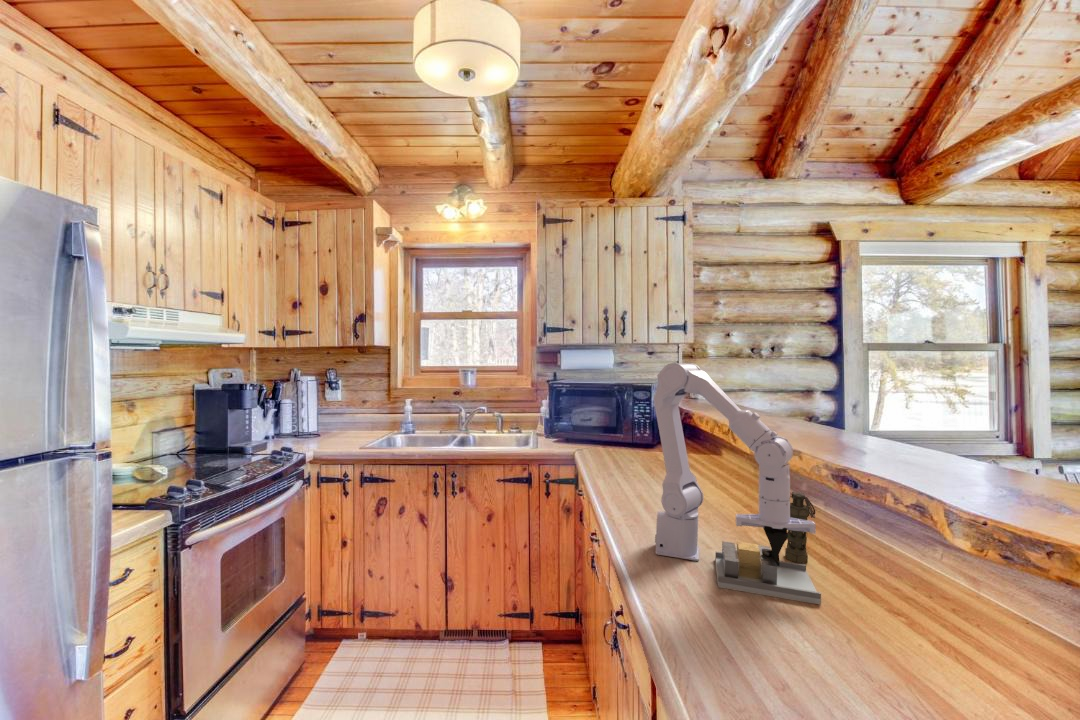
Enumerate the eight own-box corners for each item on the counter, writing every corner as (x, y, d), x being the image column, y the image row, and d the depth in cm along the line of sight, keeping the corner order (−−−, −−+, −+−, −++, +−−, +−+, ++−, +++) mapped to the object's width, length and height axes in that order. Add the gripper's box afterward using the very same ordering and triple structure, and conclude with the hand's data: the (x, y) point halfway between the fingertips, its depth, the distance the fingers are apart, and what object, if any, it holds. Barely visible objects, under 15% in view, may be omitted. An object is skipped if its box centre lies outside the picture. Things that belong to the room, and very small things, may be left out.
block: (737, 575, 96) (738, 548, 96) (736, 567, 100) (737, 541, 100) (759, 579, 95) (760, 552, 95) (756, 570, 99) (757, 544, 99)
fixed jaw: (724, 579, 94) (725, 560, 94) (721, 559, 104) (722, 541, 104) (739, 582, 93) (739, 562, 93) (735, 561, 103) (735, 543, 103)
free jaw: (761, 584, 92) (762, 559, 92) (754, 563, 102) (755, 540, 102) (776, 586, 91) (777, 561, 91) (768, 565, 101) (769, 542, 101)
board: (718, 587, 93) (718, 577, 93) (715, 559, 106) (715, 551, 106) (820, 604, 88) (821, 594, 88) (805, 573, 100) (805, 564, 100)
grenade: (815, 568, 103) (818, 500, 102) (785, 562, 105) (788, 496, 105) (812, 553, 111) (814, 490, 110) (784, 548, 113) (786, 486, 113)
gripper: (737, 499, 94) (737, 567, 94) (819, 506, 90) (819, 577, 90) (734, 490, 101) (734, 553, 101) (810, 496, 96) (810, 562, 96)
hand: (774, 563), depth 96 cm, fingers closed, pressing on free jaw
